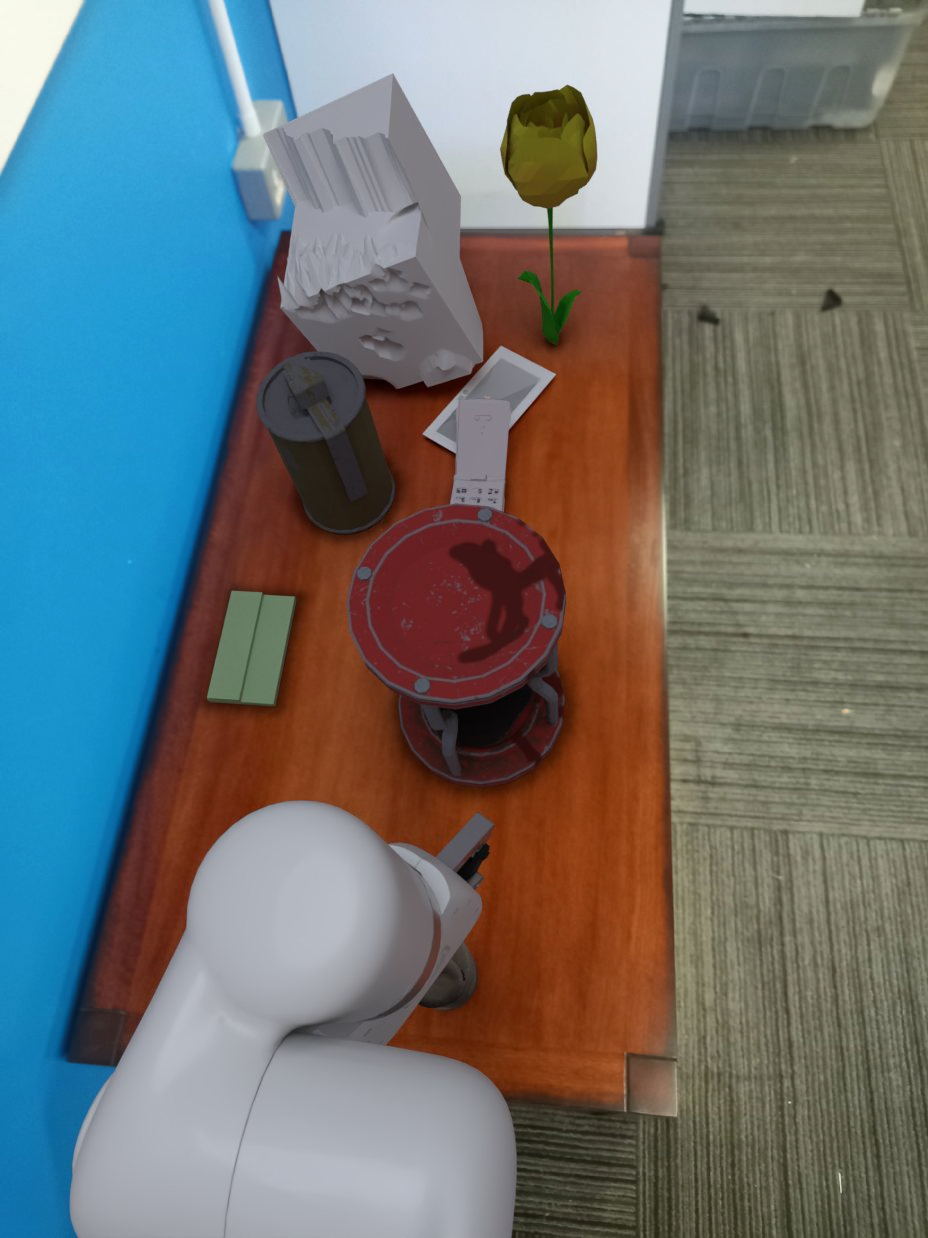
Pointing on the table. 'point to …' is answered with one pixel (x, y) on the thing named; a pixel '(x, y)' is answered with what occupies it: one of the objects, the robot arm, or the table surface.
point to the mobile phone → (481, 452)
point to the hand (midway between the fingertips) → (414, 953)
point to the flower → (549, 169)
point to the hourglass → (465, 638)
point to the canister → (327, 440)
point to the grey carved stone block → (376, 240)
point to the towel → (252, 649)
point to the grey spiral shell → (453, 982)
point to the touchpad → (494, 391)
